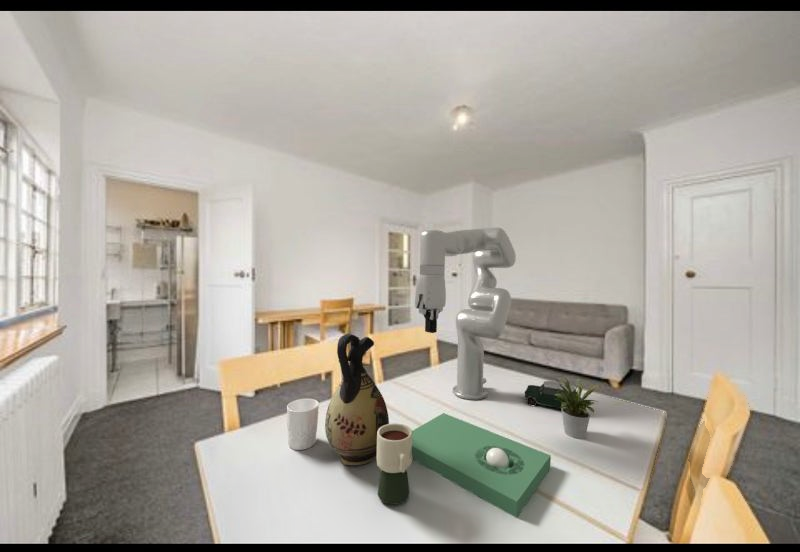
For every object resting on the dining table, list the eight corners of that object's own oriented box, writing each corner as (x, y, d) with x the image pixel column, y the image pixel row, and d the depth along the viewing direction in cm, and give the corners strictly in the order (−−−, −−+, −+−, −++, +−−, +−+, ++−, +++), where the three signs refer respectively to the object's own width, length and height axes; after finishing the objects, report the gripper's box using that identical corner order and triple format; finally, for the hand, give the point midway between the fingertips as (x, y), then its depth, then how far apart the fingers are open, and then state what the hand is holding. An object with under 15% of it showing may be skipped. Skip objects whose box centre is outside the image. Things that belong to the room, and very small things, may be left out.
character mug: (420, 512, 57) (422, 443, 57) (384, 522, 54) (385, 450, 54) (400, 475, 67) (402, 416, 67) (369, 482, 65) (370, 421, 64)
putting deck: (397, 450, 76) (398, 438, 76) (443, 422, 91) (443, 413, 91) (516, 517, 56) (516, 501, 56) (550, 468, 71) (550, 455, 71)
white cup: (309, 431, 84) (309, 396, 84) (323, 443, 79) (324, 405, 79) (281, 442, 79) (281, 404, 79) (294, 455, 73) (295, 414, 73)
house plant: (535, 432, 87) (536, 375, 86) (550, 416, 97) (551, 365, 97) (593, 453, 77) (595, 389, 77) (603, 433, 87) (605, 376, 87)
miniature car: (526, 395, 114) (527, 374, 114) (582, 407, 104) (583, 384, 104) (522, 404, 106) (522, 381, 106) (582, 418, 97) (582, 393, 96)
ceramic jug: (350, 431, 85) (352, 324, 85) (398, 447, 78) (401, 330, 77) (305, 465, 70) (307, 335, 69) (360, 488, 63) (363, 344, 62)
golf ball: (500, 481, 68) (482, 463, 72) (513, 464, 70) (495, 447, 73) (498, 474, 65) (480, 455, 68) (513, 456, 67) (494, 439, 70)
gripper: (436, 271, 100) (435, 327, 100) (406, 271, 89) (405, 333, 89) (456, 272, 95) (454, 330, 95) (426, 271, 84) (425, 337, 84)
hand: (430, 331), depth 92 cm, fingers closed
